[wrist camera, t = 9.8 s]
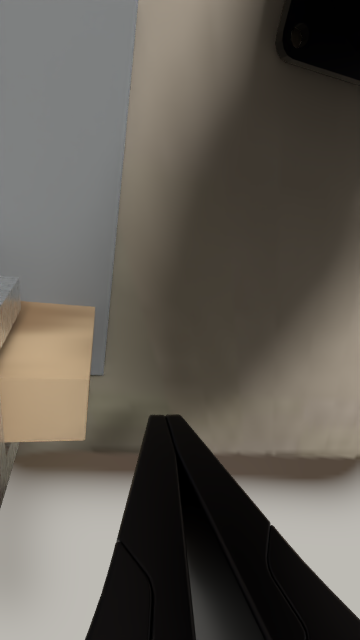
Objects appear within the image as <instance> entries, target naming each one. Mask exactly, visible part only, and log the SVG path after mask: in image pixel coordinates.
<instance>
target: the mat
mask: <svg viewBox="0 0 360 640" xmlns="http://www.w3.org/2000/svg"><path fill="white" fill-rule="evenodd" d="M137 8H138V0H0V276H9V277H19V284H20V301H26V302H39V303H52V304H65V305H77V306H90V307H95V319H94V333H93V347H92V361H91V373H90V375H103V373H104V362H105V351H106V341H107V330H108V319H109V309H110V298H111V287H112V276H113V266H114V255H115V244H116V233H117V223H118V212H119V201H120V191H121V180H122V169H123V158H124V148H125V137H126V126H127V116H128V105H129V94H130V83H131V73H132V62H133V51H134V41H135V30H136V19H137Z"/></svg>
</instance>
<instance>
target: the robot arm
mask: <svg viewBox="0 0 360 640" xmlns="http://www.w3.org/2000/svg"><path fill="white" fill-rule="evenodd" d="M294 28H297V29H298V30H299V31H300V34H301V43H300V45H299V47H298V48H296V47H294V46H293V44H292V42H291V33H292V31H293V29H294ZM275 44H276V49H277V53H278V55H279V56H280V58H281V59H282V60H284V61H285V62H287V63H290V64H293V65H296V66H300V67H303V68H306V69H309V70H312V71H315V72H318V73H322V74H325V75H328V76H331V77H334V78H337V79H340V80H344V81H347V82H350V83H353V84H356V85H359V86H360V0H285V3H284V7H283V11H282V15H281V19H280V23H279V27H278V30H277V35H276V43H275ZM85 640H360V619H359V618H358V617H357V616H356V615H355V614H354V613H353V612H352V611H351V610H350V609H349V608H348V607H347V606H346V605H345V604H344V603H343V602H342V601H341V600H340V599H339V598H338V597H337V596H336V595H335V594H334V593H333V592H332V591H331V590H330V589H329V588H328V587H327V586H326V585H325V584H324V582H323V581H322V580H321V579H320V578H319V577H318V576H317V575H316V574H315V573H314V572H313V571H312V570H311V569H310V568H309V566H308V565H307V564H306V563H305V562H304V561H303V560H302V559H301V558H300V557H299V555H298V554H297V553H296V552H295V551H294V550H293V548H292V547H291V546H290V545H289V544H288V543H287V542H286V540H285V539H284V538H283V537H282V536H281V535H280V534H279V532H278V531H277V530H276V529H275V527H274V526H273V525H271V526H270V522H269V521H268V519H267V518H266V517H265V516H264V514H263V513H262V512H261V511H260V510H259V508H258V507H257V506H256V505H255V504H254V503H253V501H252V500H251V499H250V498H249V496H248V495H247V494H246V493H245V492H244V490H243V489H242V488H241V487H240V486H239V485H238V483H237V482H236V481H235V480H234V479H233V477H232V476H231V475H230V474H229V472H228V471H227V470H226V469H225V468H224V467H223V465H222V464H221V463H220V462H219V460H218V459H217V458H216V457H215V456H214V454H213V453H212V452H211V451H210V450H209V448H208V447H207V446H206V445H205V444H204V442H203V441H202V440H201V439H200V438H199V436H198V435H197V434H196V433H195V432H194V430H193V429H192V428H191V427H190V426H189V424H188V423H187V422H186V421H185V420H184V419H183V417H182V416H180V415H166V416H164V415H150V416H149V419H148V423H147V426H146V430H145V434H144V438H143V442H142V446H141V449H140V453H139V457H138V461H137V465H136V469H135V473H134V476H133V480H132V484H131V488H130V491H129V495H128V499H127V503H126V507H125V511H124V514H123V518H122V522H121V526H120V530H119V534H118V538H117V542H116V544H115V548H114V552H113V556H112V560H111V563H110V567H109V570H108V574H107V577H106V581H105V584H104V587H103V591H102V594H101V597H100V600H99V602H98V605H97V608H96V611H95V614H94V616H93V619H92V622H91V625H90V628H89V631H88V633H87V636H86V638H85Z"/></svg>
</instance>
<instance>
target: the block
mask: <svg viewBox="0 0 360 640" xmlns="http://www.w3.org/2000/svg"><path fill="white" fill-rule="evenodd" d="M20 304H21V310H20V312H19V314H18V316H17V318H16V320H15V322H14V324H13V326H12V328H11V330H10V332H9V334H8V336H7V337H6V339H5V341H4V343H3V345H2V347H1V349H0V399H1V409H2V419H3V430H4V440H5V442H40V441H79V440H85V434H86V421H87V409H88V397H89V385H90V373H91V361H92V347H93V333H94V319H95V307H90V306H77V305H65V304H52V303H39V302H26V301H20Z"/></svg>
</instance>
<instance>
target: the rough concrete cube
mask: <svg viewBox="0 0 360 640" xmlns="http://www.w3.org/2000/svg"><path fill="white" fill-rule="evenodd" d="M20 310H21V304H20V284H19V277H9V276H0V349H1V347H2V345H3V343H4V341H5V339H6V337H7V336H8V334H9V332H10V330H11V328H12V326H13V324H14V322H15V320H16V318H17V316H18V314H19V312H20ZM19 443H20V442H5V440H4V430H3V419H2V409H1V399H0V508H1V504H2V501H3V498H4V494H5V491H6V487H7V484H8V481H9V477H10V474H11V470H12V467H13V464H14V460H15V457H16V454H17V450H18V447H19Z"/></svg>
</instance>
